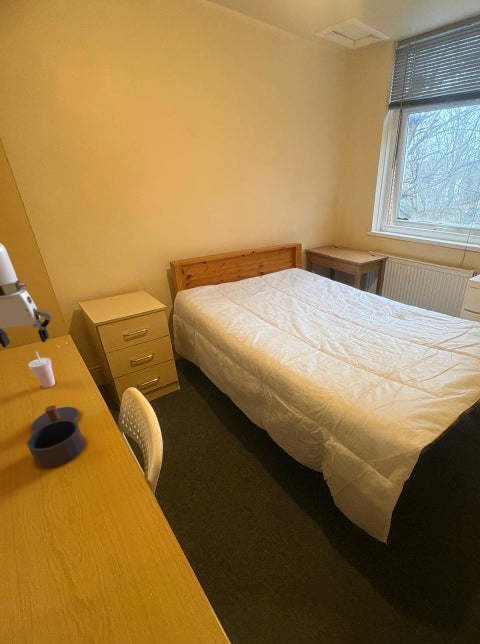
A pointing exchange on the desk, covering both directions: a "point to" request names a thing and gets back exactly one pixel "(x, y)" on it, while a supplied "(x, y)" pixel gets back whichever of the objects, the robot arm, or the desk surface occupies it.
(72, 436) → the pot
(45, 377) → the smoothie
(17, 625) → the desk surface
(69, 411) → the lid
